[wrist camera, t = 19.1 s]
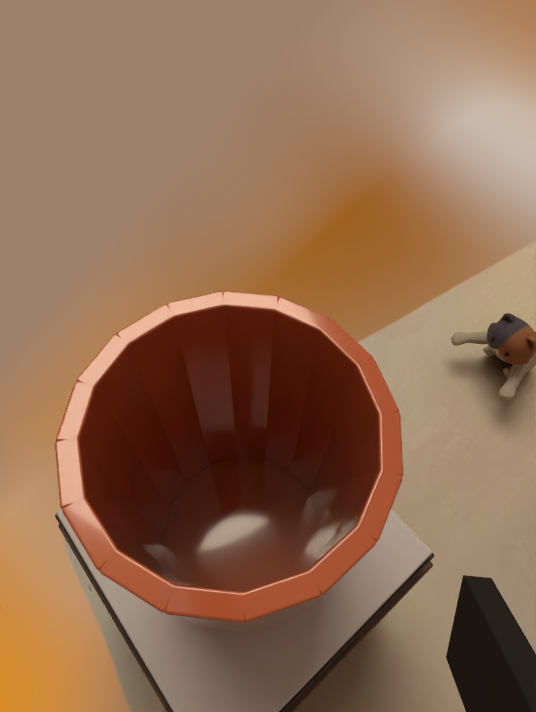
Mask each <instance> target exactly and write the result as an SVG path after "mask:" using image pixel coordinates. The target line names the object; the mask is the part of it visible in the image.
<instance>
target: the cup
mask: <svg viewBox="0 0 536 712" xmlns="http://www.w3.org/2000/svg"><path fill="white" fill-rule="evenodd" d="M55 449H56V460H57V472H58V483H59V495H60V506H61V508H62V512H63V514H64V516H65V517H66V519H67V521H68V522H69V524H70V526H71V527H72V529H73V531H74V532H75V534H76V536H77V537H78V539H79V541H80V542H81V544H82V546H83V547H84V549H85V551H86V552H87V554H88V556H89V557H90V559H91V561H92V563H93V564H94V566H95V568H96V569H97V570H98V571H100V573H101V574H102V575H104V576H105V577H107V578H108V579H110V580H111V581H113V582H115V583H116V584H118V585H119V586H121V587H122V588H124V589H126V590H127V591H129V592H130V593H132V594H133V595H135V596H137V597H138V598H140V599H141V600H143V601H144V602H146V603H148V604H149V605H151V606H152V607H154V608H155V609H157V610H159V611H160V612H162V613H165V614H168V615H171V616H173V617H176V618H179V619H182V620H185V621H187V622H190V623H193V624H196V625H199V626H201V627H204V628H207V629H210V630H213V631H221V632H229V633H239V634H253V633H256V632H259V631H262V630H265V629H268V628H271V627H273V626H276V625H279V624H282V623H285V622H286V621H288V620H290V619H291V618H292V617H294V616H295V615H296V614H298V613H299V612H301V611H302V610H303V609H305V608H306V607H308V606H309V605H310V604H312V603H313V602H314V601H316V600H317V599H319V598H320V597H321V596H323V595H324V594H325V593H326V592H327V591H328V590H329V589H330V588H332V587H333V586H334V585H335V584H336V583H337V582H338V581H339V580H340V579H341V578H342V577H343V576H344V575H345V574H346V573H347V572H348V571H349V570H350V569H351V568H352V567H353V566H354V565H355V564H356V563H357V562H358V561H360V560H361V559H362V558H363V557H364V556H365V555H366V554H367V553H368V552H369V551H370V550H371V549H372V548H373V547H374V546H375V545H376V542H377V541H378V540H379V538H380V536H381V533H382V531H383V528H384V525H385V523H386V520H387V518H388V515H389V513H390V510H391V508H392V505H393V502H394V500H395V497H396V495H397V492H398V490H399V487H400V485H401V482H402V476H403V459H402V438H401V418H400V413H399V409H398V407H397V405H396V403H395V401H394V399H393V397H392V395H391V393H390V391H389V389H388V386H387V384H386V382H385V380H384V378H383V376H382V374H381V372H380V370H379V368H378V366H377V364H376V362H375V360H374V359H373V357H372V356H371V355H370V354H369V353H368V352H367V351H366V350H365V349H364V348H363V347H362V346H361V345H359V344H358V343H357V342H356V341H355V340H354V339H353V338H352V337H351V336H350V335H349V334H348V333H346V331H344V330H343V329H342V328H341V327H340V326H339V325H338V324H337V323H336V322H335V321H334V320H331V319H330V318H329V317H327V316H324V315H322V314H320V313H318V312H315V311H313V310H311V309H308V308H306V307H304V306H301V305H299V304H297V303H295V302H292V301H290V300H288V299H285V298H283V297H279V296H275V295H263V294H252V293H242V292H230V291H224V292H222V291H220V292H215V293H211V294H206V295H202V296H197V297H193V298H188V299H184V300H179V301H175V302H170V303H168V304H167V305H166V304H165V305H163V306H161V307H159V308H158V309H156V310H154V311H153V312H151V313H149V314H148V315H146V316H144V317H142V318H141V319H139V320H138V321H136V322H134V323H132V324H131V325H129V326H127V327H126V328H124V329H122V330H120V331H119V332H117V333H116V334H115V335H113V337H112V338H111V339H110V341H109V342H108V343H107V344H106V345H105V346H104V347H103V349H102V350H101V351H100V352H99V353H98V355H97V356H96V357H95V358H94V359H93V360H92V362H91V363H90V364H89V365H88V366H87V368H86V369H85V370H84V371H83V372H82V374H81V375H80V376H79V377H78V378H77V382H75V384H74V387H73V390H72V393H71V397H70V399H69V402H68V405H67V408H66V411H65V414H64V417H63V420H62V423H61V426H60V428H59V431H58V434H57V438H56V442H55Z"/></svg>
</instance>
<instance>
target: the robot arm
mask: <svg viewBox="0 0 536 712" xmlns="http://www.w3.org/2000/svg"><path fill="white" fill-rule="evenodd" d="M446 658H447V661H448V664H449V666H450V669H451V672H452V675H453V677H454V680H455V683H456V685H457V688H458V691H459V694H460V696H461V699H462V702H463V705H464V707H465V710H466V712H536V654H535V652H534V650H533V649H532V647H531V645H530V644H529V642H528V640H527V638H526V637H525V635H524V633H523V632H522V630H521V628H520V626H519V625H518V623H517V621H516V620H515V618H514V616H513V614H512V613H511V611H510V609H509V608H508V606H507V604H506V602H505V601H504V599H503V597H502V596H501V594H500V592H499V590H498V589H497V587H496V585H495V584H494V582H493V580H492V578H484V577H474V576H465V575H463V579H462V584H461V589H460V593H459V598H458V603H457V608H456V613H455V617H454V622H453V627H452V632H451V637H450V641H449V646H448V651H447V656H446Z"/></svg>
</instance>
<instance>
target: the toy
mask: <svg viewBox="0 0 536 712" xmlns="http://www.w3.org/2000/svg"><path fill="white" fill-rule="evenodd" d="M451 340H452V344H453V345H461V344H464V343H476V344H488V345H489V346H488V347H485V348H484V349H483V351H484V352H485V353H486V354H487V355H489V356H493V355H494V354H495V355H496V356H497V357H498V358H500V359H501V360H503V361H505V362H507V363H510V364H513V366H512V367H507V368H505V369H504V370H503V372H504V374H505V375H506V376H507V381H506V383H505V384H504V386H503V387H502V388H501V389H500V391H499V394H498V397H499V398H500V399H501V400H504V401H509V400H511V399H513V398H514V397H515V392H516V388H517V386H518V385H519V384H520V382H521V381H522V379H523V377H524V375H525V373H526V372H527V371H529V370H531V369H532V368H533V367H534V366H535V364H536V332H534V330H533V329H532V328H531V327H530V326H529V325H528V324H527V323H526V322H524V321H523V320H521V319H519V318H517V317H515V316H514V315H512V314H509V313H507V314H504V316H503V317H502V318H501V319H500V320H499V321H498V322H497V323H491V324H490V326H489V329H488V331H483V332H473V333H462V332H456V333H455V334H454V335H453V336H452V338H451Z"/></svg>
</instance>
